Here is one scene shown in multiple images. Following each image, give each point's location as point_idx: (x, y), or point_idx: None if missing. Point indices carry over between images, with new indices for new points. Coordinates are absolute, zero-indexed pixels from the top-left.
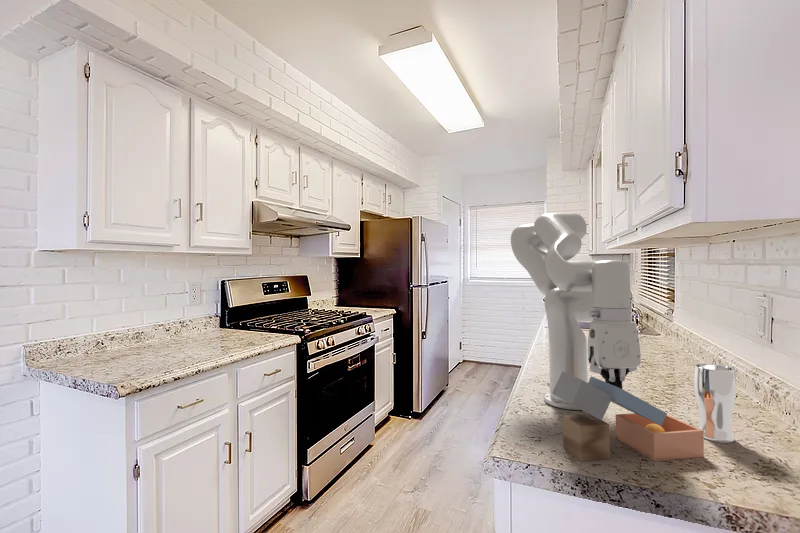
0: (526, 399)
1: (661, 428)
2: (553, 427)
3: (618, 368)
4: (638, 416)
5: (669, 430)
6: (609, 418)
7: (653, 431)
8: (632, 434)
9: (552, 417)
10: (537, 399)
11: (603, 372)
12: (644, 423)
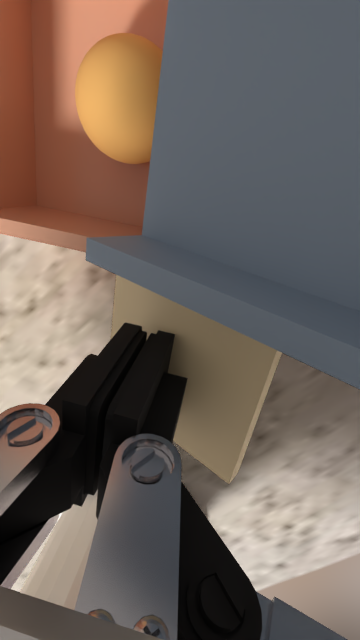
0: None
1: (101, 49)
2: (357, 414)
3: (18, 594)
4: (97, 235)
5: (13, 143)
6: None
7: (160, 61)
8: None
9: (277, 467)
10: None
11: (242, 606)
12: (82, 223)
